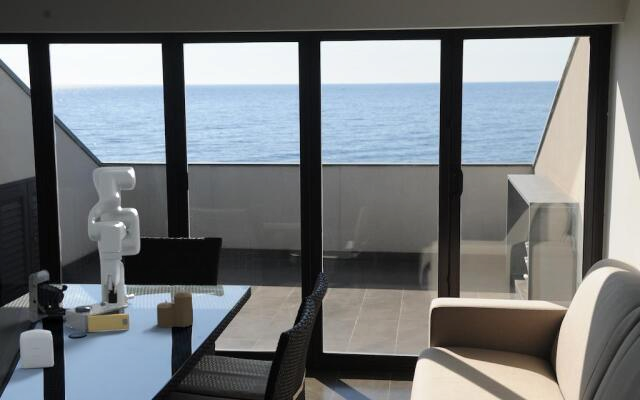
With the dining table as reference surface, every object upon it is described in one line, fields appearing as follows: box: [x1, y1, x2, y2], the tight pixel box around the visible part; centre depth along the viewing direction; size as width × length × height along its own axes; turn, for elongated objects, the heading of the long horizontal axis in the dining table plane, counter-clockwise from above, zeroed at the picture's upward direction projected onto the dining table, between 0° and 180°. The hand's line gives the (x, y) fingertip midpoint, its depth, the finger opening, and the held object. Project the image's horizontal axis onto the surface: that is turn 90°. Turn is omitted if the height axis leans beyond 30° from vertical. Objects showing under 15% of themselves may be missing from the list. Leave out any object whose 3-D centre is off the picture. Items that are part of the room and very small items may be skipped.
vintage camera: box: [28, 269, 69, 323], centre depth 317 cm, size 10×15×20 cm, turn 78°
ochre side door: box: [84, 313, 130, 334], centre depth 301 cm, size 16×2×7 cm, turn 105°
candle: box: [156, 286, 193, 329], centre depth 311 cm, size 14×14×15 cm
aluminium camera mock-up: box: [65, 301, 126, 333], centre depth 311 cm, size 18×13×8 cm
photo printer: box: [19, 329, 55, 370], centre depth 259 cm, size 10×4×12 cm, turn 100°
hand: (113, 302), depth 305 cm, fingers closed
